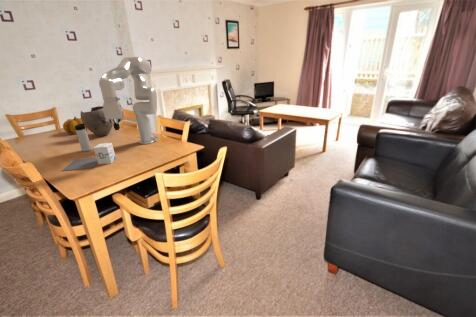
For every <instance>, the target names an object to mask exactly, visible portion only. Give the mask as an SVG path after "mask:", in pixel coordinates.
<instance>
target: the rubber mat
mask: <svg viewBox="0 0 476 317" xmlns="http://www.w3.org/2000/svg"><path fill="white" fill-rule="evenodd" d="M97 165H98V162H97V158H96V156H95V157H85V158H79V159H78V158H76V159H73V160H72V161H71V162H69V164H67V165H66V166H65V167H64V168H63V169H62V170H61V172H67V171H69V172H70V171H77V169H79V170H87V169H88V168H89V169H94V168H95V167H96V166H97Z"/></svg>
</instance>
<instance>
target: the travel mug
mask: <svg viewBox="0 0 476 317" xmlns="http://www.w3.org/2000/svg"><path fill="white" fill-rule="evenodd" d="M75 129H76V133H77V134H76V136H77V139H78V142H79V145H80V149H81V151H82V152H83V153H89V152H91V151H93V150H92V146H91V143H90V138H89V135H88V133H87V130H86V128H85V124H79V125H76V126H75Z"/></svg>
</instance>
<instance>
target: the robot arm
mask: <svg viewBox="0 0 476 317" xmlns="http://www.w3.org/2000/svg"><path fill="white" fill-rule="evenodd" d="M151 73H152V65H151V64H150V62H148V61H147V60H146V59H144V58H142V57H140V56H126V57H124V58H122V60H121V61H120V62H119V64H118V65H117V66H116V67H114V68H112V69H110V70H108V71H106V72H104V73H103V74H102V76H101V77H100V78H99V81H98V85H99V88H100V92H101V96H102V99H103V100H102V101H103V103H102V106H103V110H104V116H105V119H106V121H109V122H111V123H112V124H113V126H112V127H113V129H114V130H115V131H119V130H120V128H121V127H120V122H122V121H124V120H125V116H124V115H125V114H124V112H123V108H122V105H121V103H120V100H121V98H120V97H118V96H117V91H121V90H124V88H125V80H124V79H128V77H129V76H131V78H132V80H133V86H134V90H133V91H134V97H135V99H136V100H138V102H134V103H133V104H132V111H133V114H134V116H135V119H136V123H137V127H138V133H139V134H138V135H139V137H140V139H139V141H138V143H139V144H142V145H149V144H153V143H154V142H156V140H159V139H160V137H159V136H157V135H154V134H153V130H152V124H151V119H150V117H149V116H148V115H155V114H157V112H158V94H157V90H156V89H155V88H154V87H152V86H151V87H150V86H148V87H147V81H146V79H145V78H144V76H142V75H149V74H151Z"/></svg>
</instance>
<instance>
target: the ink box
mask: <svg viewBox="0 0 476 317" xmlns="http://www.w3.org/2000/svg"><path fill="white" fill-rule="evenodd" d="M93 151H94V155H95V157H96V158H97V162H98V163H97V165H109V164H110V165H111V164H112V163H113V162H114V161H115V160H116V159H117V156H116V153H115V149H114V146H113V143H112V142H105V143H98V144H97V145H96V146H94V147H93Z"/></svg>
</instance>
